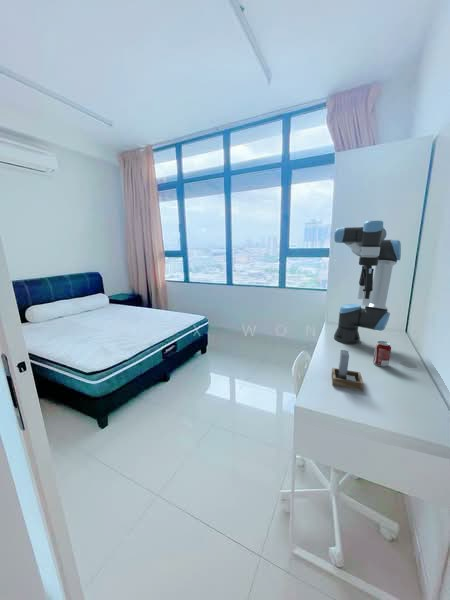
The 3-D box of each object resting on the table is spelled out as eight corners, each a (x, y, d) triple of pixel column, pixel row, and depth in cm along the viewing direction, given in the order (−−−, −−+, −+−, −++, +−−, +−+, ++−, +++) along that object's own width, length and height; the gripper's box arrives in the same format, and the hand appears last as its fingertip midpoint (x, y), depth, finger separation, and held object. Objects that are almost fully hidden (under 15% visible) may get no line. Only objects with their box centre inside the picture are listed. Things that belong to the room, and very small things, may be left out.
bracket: (338, 382, 111) (341, 354, 108) (337, 377, 116) (340, 349, 112) (355, 385, 109) (359, 356, 105) (354, 380, 113) (357, 352, 110)
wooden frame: (331, 374, 119) (332, 367, 118) (359, 379, 115) (360, 372, 114) (332, 385, 110) (333, 378, 109) (362, 390, 106) (363, 383, 105)
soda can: (390, 368, 124) (394, 346, 122) (375, 366, 126) (379, 345, 123) (384, 361, 131) (388, 340, 128) (371, 360, 132) (374, 340, 129)
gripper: (356, 254, 124) (351, 295, 129) (364, 258, 101) (357, 307, 106) (373, 255, 121) (367, 297, 126) (385, 258, 98) (377, 309, 103)
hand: (363, 302), depth 116 cm, fingers open, 13 cm apart
